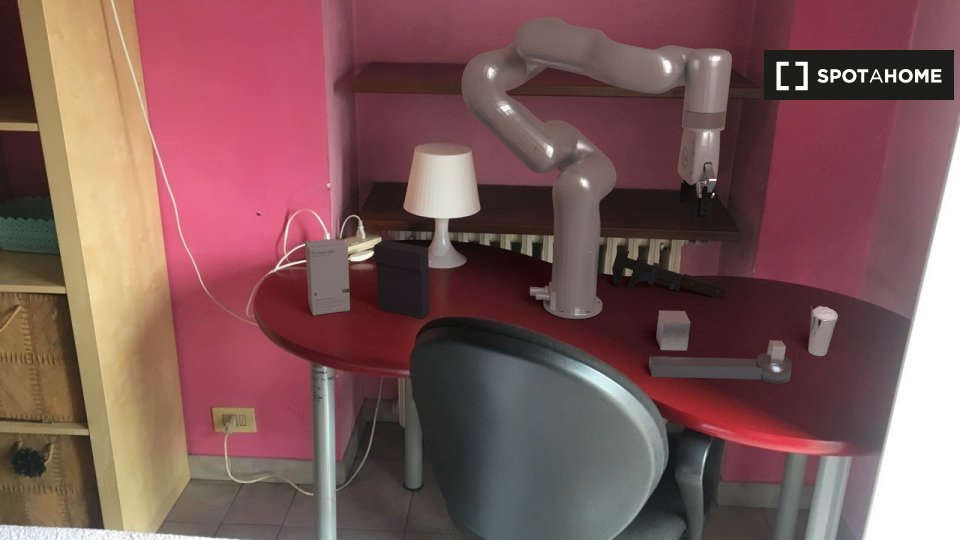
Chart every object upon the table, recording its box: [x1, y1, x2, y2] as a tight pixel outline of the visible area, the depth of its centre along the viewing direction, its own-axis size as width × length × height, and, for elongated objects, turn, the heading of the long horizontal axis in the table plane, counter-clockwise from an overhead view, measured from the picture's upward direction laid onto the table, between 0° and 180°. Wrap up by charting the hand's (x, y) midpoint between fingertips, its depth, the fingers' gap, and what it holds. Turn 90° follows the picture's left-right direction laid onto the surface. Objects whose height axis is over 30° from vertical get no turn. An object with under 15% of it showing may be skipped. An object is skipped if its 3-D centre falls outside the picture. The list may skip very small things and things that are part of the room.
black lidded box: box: [373, 239, 431, 320], centre depth 158 cm, size 11×4×15 cm, turn 65°
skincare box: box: [304, 238, 351, 317], centre depth 159 cm, size 8×6×15 cm
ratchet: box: [648, 340, 793, 385], centre depth 137 cm, size 25×6×6 cm, turn 88°
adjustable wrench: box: [611, 247, 727, 299], centre depth 171 cm, size 8×3×25 cm
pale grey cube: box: [655, 310, 691, 351], centre depth 147 cm, size 5×5×6 cm
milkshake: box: [807, 304, 839, 357], centre depth 144 cm, size 4×5×10 cm
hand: (694, 209), depth 144 cm, fingers open, 9 cm apart
